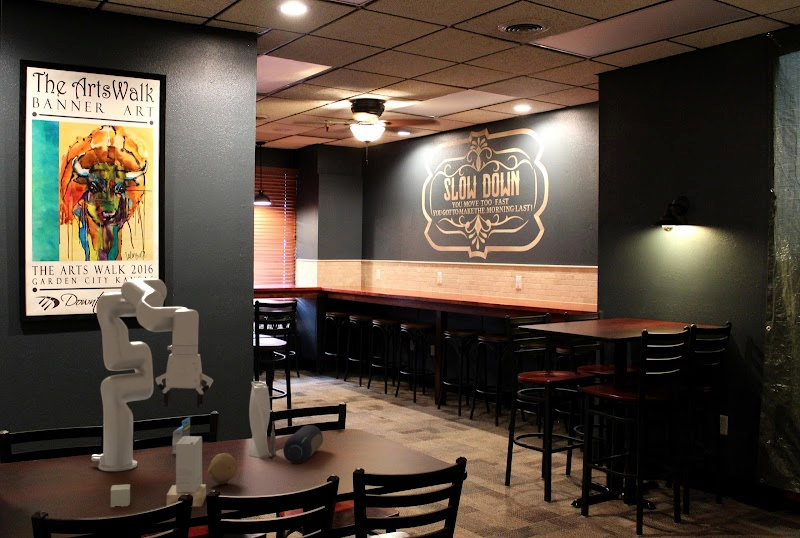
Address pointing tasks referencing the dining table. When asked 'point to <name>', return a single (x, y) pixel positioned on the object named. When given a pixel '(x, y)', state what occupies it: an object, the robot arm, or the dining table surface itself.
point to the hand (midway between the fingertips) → (183, 406)
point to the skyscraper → (260, 421)
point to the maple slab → (197, 496)
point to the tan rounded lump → (222, 468)
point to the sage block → (120, 495)
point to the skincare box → (188, 464)
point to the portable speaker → (302, 444)
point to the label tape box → (181, 433)
